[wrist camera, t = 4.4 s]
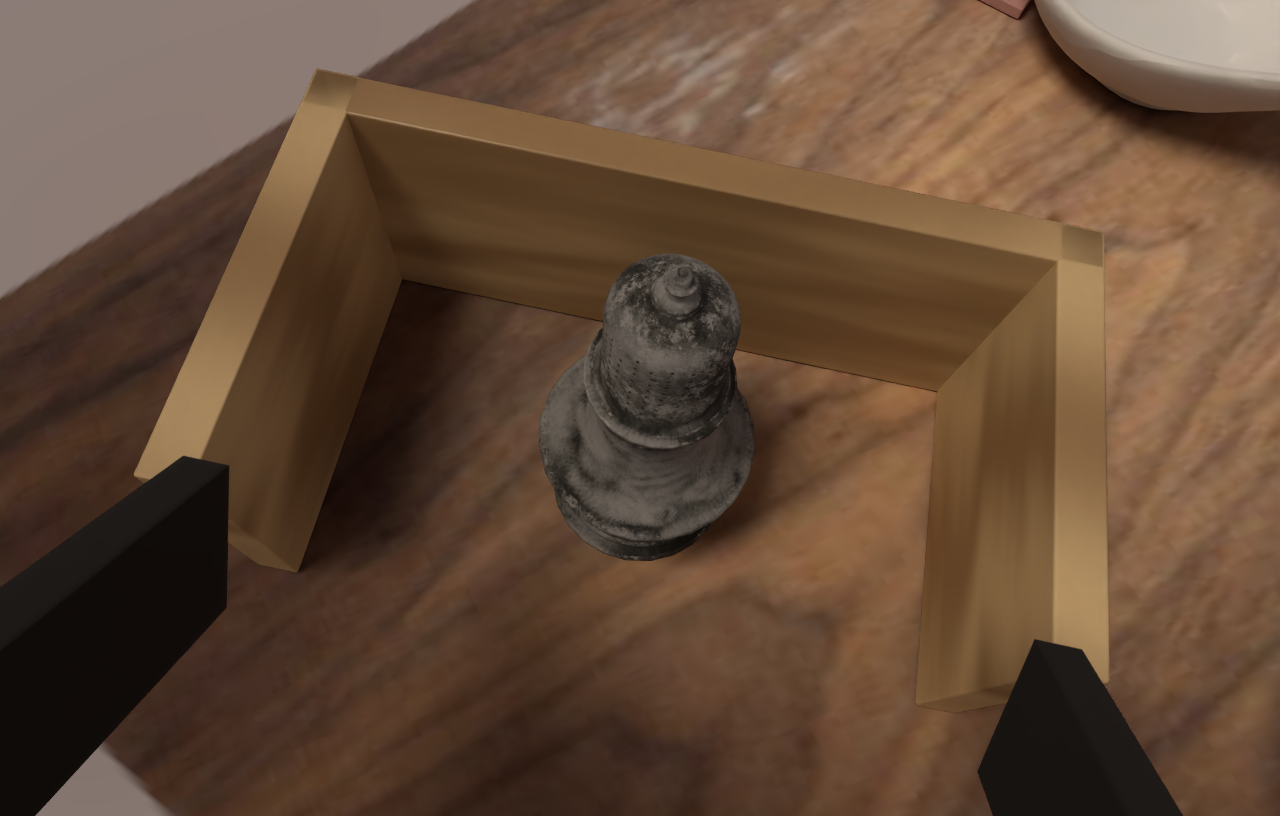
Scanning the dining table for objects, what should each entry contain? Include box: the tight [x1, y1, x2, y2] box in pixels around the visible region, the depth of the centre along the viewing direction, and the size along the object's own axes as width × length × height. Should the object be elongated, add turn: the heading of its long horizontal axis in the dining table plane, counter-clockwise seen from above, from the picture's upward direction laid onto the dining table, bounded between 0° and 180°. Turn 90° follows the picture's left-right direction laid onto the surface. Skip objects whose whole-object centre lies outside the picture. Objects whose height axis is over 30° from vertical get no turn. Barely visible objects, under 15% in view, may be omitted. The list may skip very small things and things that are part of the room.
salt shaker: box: [539, 254, 755, 561], centre depth 22 cm, size 6×6×12 cm
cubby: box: [134, 69, 1110, 713], centre depth 24 cm, size 11×20×8 cm, turn 79°
